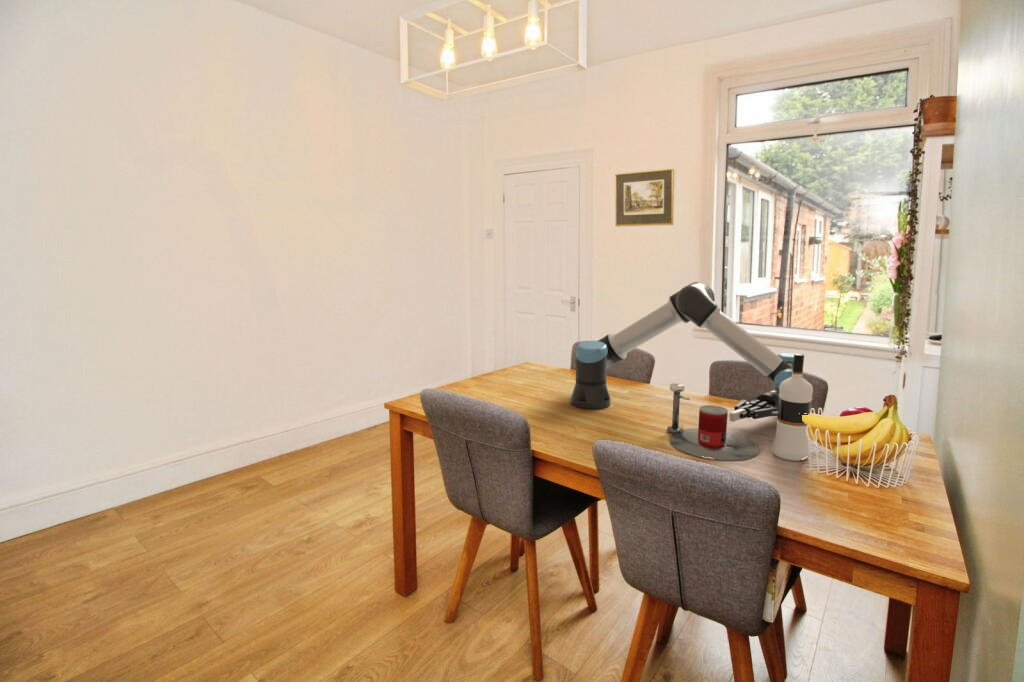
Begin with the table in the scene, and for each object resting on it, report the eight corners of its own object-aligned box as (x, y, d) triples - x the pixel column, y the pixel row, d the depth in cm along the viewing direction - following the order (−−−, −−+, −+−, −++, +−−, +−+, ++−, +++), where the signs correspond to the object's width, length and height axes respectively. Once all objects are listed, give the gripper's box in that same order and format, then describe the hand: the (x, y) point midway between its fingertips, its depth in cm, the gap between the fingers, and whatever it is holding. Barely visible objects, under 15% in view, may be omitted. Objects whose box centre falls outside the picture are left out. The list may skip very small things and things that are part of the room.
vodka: (766, 455, 153) (775, 354, 148) (779, 447, 160) (788, 349, 154) (800, 465, 147) (811, 359, 141) (813, 456, 153) (823, 354, 147)
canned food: (727, 449, 158) (730, 413, 156) (699, 447, 159) (701, 412, 157) (723, 439, 165) (725, 405, 163) (696, 438, 167) (697, 404, 165)
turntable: (656, 431, 174) (656, 430, 174) (731, 427, 177) (731, 426, 177) (692, 463, 148) (692, 462, 148) (779, 457, 152) (779, 456, 152)
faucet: (663, 430, 174) (665, 384, 171) (673, 427, 177) (675, 382, 174) (682, 436, 169) (684, 389, 166) (691, 433, 172) (694, 386, 169)
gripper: (789, 418, 175) (750, 434, 162) (751, 409, 186) (712, 423, 172) (791, 396, 174) (752, 410, 160) (753, 388, 184) (713, 400, 171)
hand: (731, 417), depth 166 cm, fingers closed
